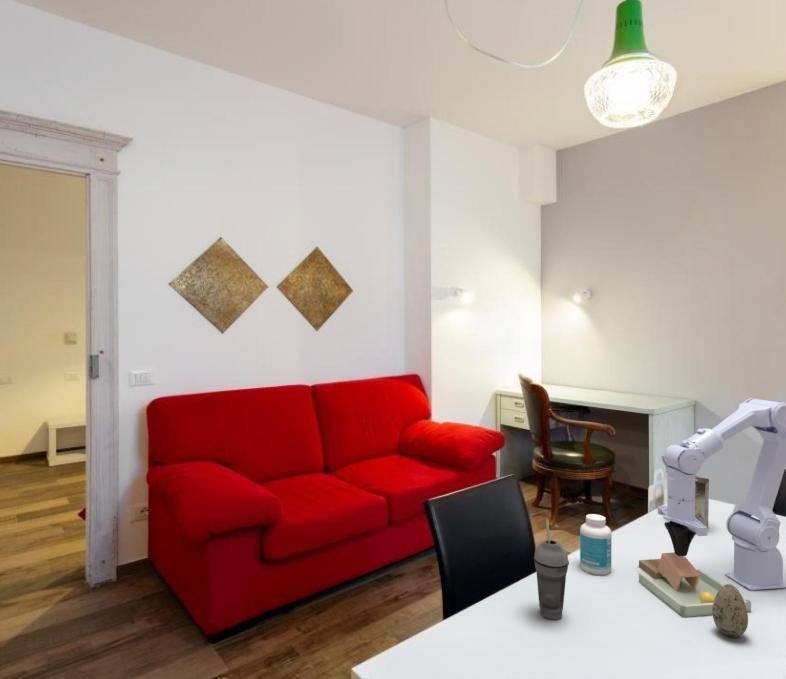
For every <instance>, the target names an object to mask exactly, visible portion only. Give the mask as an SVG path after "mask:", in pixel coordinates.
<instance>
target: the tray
mask: <svg viewBox="0 0 786 679" xmlns="http://www.w3.org/2000/svg"><path fill="white" fill-rule="evenodd" d="M696 570H697V571H698V572H699V573H700V578H699V581H698V584H697V587H696V590H694V589H693V588H692V587H691V586H690V584H689V583H688V582H687V581H686V580H685V578H684V577H683V578H682V579H681V582H680V585H679V589H678V591H676V590H675V589H674V588H673V587H672V585H671V584H670V583H669V581H668V580H667V579H650V578H649V577H648V576H647V575H646V574H644V573H643V572H639V573H638V583H640V584H641V585H642V586H643V587H645V588H646V589H647V590H648V591H650V592H651V593H652V595H654V596H655V597H657V598H658V599H659V600H661V601H662V602H663V603H664V604H665V605H666V606H668V607H669V608H670V609H672V610H673V611H674V612H676V613H677V614H679V615H680V617H682V618H691V617H703V616H713V614H712V610H713V603H701V602H700V599H699V596H700V594H701V593H702V592H704V591H707V592H710V593H711V594H712V595H713V596H714V597H716V595H717V593H718V591H719V590H720V588H721V587H722V586H724V585H725V584H724V583H722V582H721V581H720V580H718V579H716V578H715V577H713V576H711V575H710V574H708V573H706V572H705V571H703V570H702V569H701V568H696ZM741 596H742V598H743V600H744V603H745V606H746V609H747V613H752V601H751V600H750V599H747V598H746V597H745V596H743V595H741Z"/></svg>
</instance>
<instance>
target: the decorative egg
mask: <svg viewBox="0 0 786 679" xmlns="http://www.w3.org/2000/svg"><path fill="white" fill-rule="evenodd" d="M742 596H743V595H742V594H741V592H740V591H739V590H738V588H737V587H736V586H735V585H733V584H730V583H727V584H724V586H722V587H721V588H720V590H719V591H718V593H717V595H716V597H715V600H714V603H713V610H712V614H713V615H712V619H713V622H714V624H715V626H716V628H717V629H718V630H719V631H720V632H721V633H722V634H724V635H726V636H727V637H730V638H731V637H732V638H737V637H739V636H742V635H744V634H745V632H746V631H747V629H748V626H749V615H748V612H747V609H746V606H745V603H744V600H743V598H742Z"/></svg>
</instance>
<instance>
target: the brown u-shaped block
mask: <svg viewBox="0 0 786 679" xmlns="http://www.w3.org/2000/svg"><path fill="white" fill-rule="evenodd" d="M659 559H660V562H659V566H658V571H659V572H660V573H661V575H662V576H663V577H664V578H665V577H666V579H667V580H668V581H669V583H670V584H671V585H672V587H673V588H674V589H675V590H676V591H678V589H679V585H680V582H681V579H682V577H683V578H685V580H686V581H687V582H688V583H689V584H690V586H691V587H692V588H693V589H694V590H696V587H697V584H698V581H699V578H700V573H699V572H698V571H697V568H696V567H695V566H694V565H693V564H692V563H691V562H690V561H689V559H688V557H686V556H678V555H676V554H675V552H663V553H662V552H661V555H660V558H659Z"/></svg>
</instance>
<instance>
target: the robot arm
mask: <svg viewBox="0 0 786 679" xmlns="http://www.w3.org/2000/svg"><path fill="white" fill-rule="evenodd" d="M750 427H752V428H753V429H754V430H755V431H756V432H757V433H759V435H760V436H761V438H762V439H763V442H762V445H761V449H760V452H759V455H758V458H757V461H756V466H755V468H754V471H753V473H752V474H753V475H752V478H751V481H750V483H749V484H750V485H749V488H748V491H747V494H746V497H745V500H744V501H742V502H740V503H737V504H735V505H734V507H733V509H732V510H733V511H732V512H731V513H730V515H728V516H727V519H726V523H725V524H726V525H725V526H726V530H727V532H728V533H729V535H731V540H733V572H731V571H730V572H725V573H724V575H725V576H726V577H727V578H729V579H731V580H733V581H735V582H736V583H738V584H740V585H741V586H743V587H744V588H746V589H748V590H750V591H757V590H758V591H759V590H771V589H772V590H773V589H785V588H786V584H784V583H783V580H784V579H783V578H784V577H783V576H784V575H783V574H784V569H783V568H784V559H783V556H782V554H781V552H780V549H778V548H777V546H778V545H779V542H780V527H781V521H780V519H778V517H777V515H776V514H775V512H774V511H773V510H774V506H775V504H776V498H777V496H778V492H779V489H780V486H781V483H782V480H783V476H784V473H785V469H786V402H784V401H783V402H780V401H772V400H766V399H760V398H756V397H751V398H748V399H746V400H745V401H743V402H741V403H739V404H738V408H737V410H735V411H734V412H732V413H731V414H730V415H729V416H728V417H725V419H724V420H722V421H721V422H720V423H718V424H717V425H716V426H714V427H713V428H708V427H707V428H706V427H704V428H698V429H697V430H696V433H695V434H692V435H691V436H690V437H688V438H687V439H683V440H681V441H680V443H679V444H671V445H669V446H668V447H666V448H665V449H664V452H663V455H661V461H662V463H663V464H664V467H665V472H666V474H667V476H666V477H667V481H666V482H667V484H666V485H667V487H666V488H667V489H666V490H667V491H666V492H667V498H666V499H667V500H666V501H667V505H657V514H658V515H660V516H662V517H663V520H666V521H665V522H664V527H665V528H666V530H667V532H668V535H669V537H670V540H671V543H672V548H673V551H674V552H675V554H676V555H678V556H685V557H686V556H688V552H689V548H690V546H691V543H692V541H693V539H694V537H695V535H696V536H698V537H707V536H708V530H707V527H706V526H704V525H703V524H702V523H701V522H700V521H699V520H698V519H697V518H696V517H695V477H696V473H698V472H699V471H700V470H701V468H702V465H703V463H704V462H705V460H706V459H707V460H708V458H710V457H712V456H713V455H714V454H716V453H718V452H719V451H720V450H722V449H723V448H724V442H725V441H726V440H728V439H730V438H732V437H734V436H736V435H738V434H739V433H741V432H742V431H744V430H746V429H748V428H750ZM755 517H756V518H755ZM674 552H673V553H674Z"/></svg>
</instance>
